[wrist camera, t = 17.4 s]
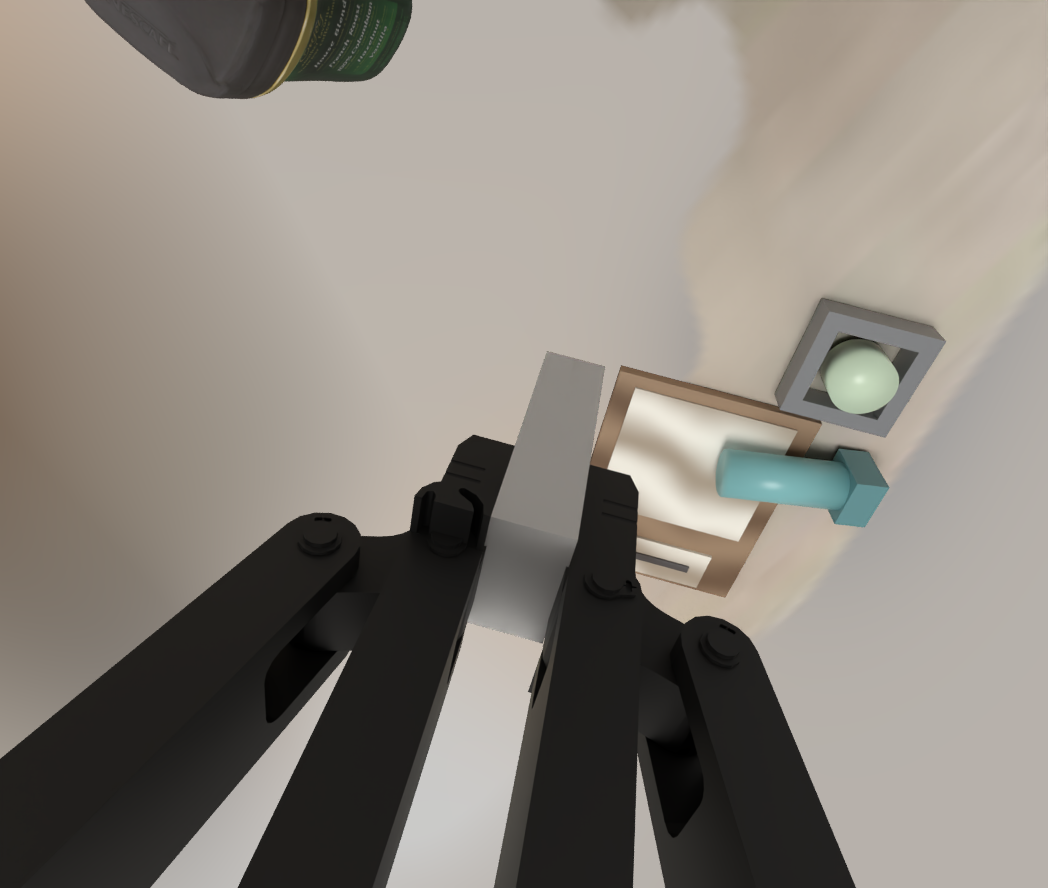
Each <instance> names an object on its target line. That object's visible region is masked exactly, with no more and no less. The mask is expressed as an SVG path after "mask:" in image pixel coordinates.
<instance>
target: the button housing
mask: <svg viewBox="0 0 1048 888" xmlns="http://www.w3.org/2000/svg"><path fill="white" fill-rule="evenodd" d="M838 332H841V333H845V334H849V335H853V336H857V337H861V338H864V339H868V340H872V341H876V342H880V343H884V344H888V345H891V346H895V347H899V348H901V350H900V351H899V353H898V355H897V356H896V358H895V360H894V361H893V363H892V364H893V366H894V367H895V369H896V371H897V373H898V376H899V386H898V389H897V392H896V393H895V395H894V396H893V398H892V399H891V400H890V401H889V402H888V403H887V404H886V405H884V406H883V407H881V408H879V409H877V410H875V411H872V412H869V413H863V414H852V413H848V412H845V411H843V410H841V409H839V408H838V407H837V406H835V405H834V403H833V402H832V400H831V398H830V396H829V394H828V393H827V392H823V391H819V390H815V389H811V388H809V387H810V385H811V383H812V381H813V379H814V378H815V376H816V374H817V372H818V370H819V368H820V366H821V364H822V362H823V360H824V358H825V357H826V355H827V353H828V351H829V349H830V347H831V345H832V343H833V341H834V339H835V338H836V336H837V334H838ZM945 343H946V341H945V339H944V338H943V337H942V336H941V335H940V334H939V333H938V332H937V331H936V329H935V328H934V327H932V326H928V325H924V324H920V323H916V322H912V321H908V320H904V319H901V318H897V317H893V316H889V315H885V314H881V313H877V312H874V311H870V310H866V309H862V308H858V307H854V306H850V305H846V304H843V303H839V302H835V301H831V300H827V299H823V298H822V299H821V301H820V303H819V305H818V307H817V309H816V311H815V313H814V315H813V317H812V319H811V321H810V323H809V325H808V327H807V329H806V331H805V333H804V335H803V337H802V339H801V341H800V343H799V346H798V348H797V350H796V352H795V354H794V356H793V358H792V360H791V362H790V364H789V366H788V368H787V370H786V372H785V374H784V376H783V378H782V380H781V382H780V384H779V386H778V388H777V390H776V392H775V396H776V400H777V403H778V406H779V409H780V410H782V411H786V412H790V413H794V414H798V415H801V416H805V417H809V418H813V419H816V420H820V421H824V422H828V423H832V424H835V425H839V426H843V427H847V428H850V429H854V430H858V431H862V432H866V433H869V434H873V435H877V436H881V437H886V436H887V434H888V433H889V431H890V429H891V428H892V426H893V425H894V423H895V422H896V420H897V418H898V417H899V415H900V414H901V412H902V411H903V409H904V407H905V406H906V404H907V403H908V401H909V399H910V398H911V396H912V395H913V393H914V392H915V390H916V388H917V387H918V385H919V384H920V382H921V381H922V379H923V377H924V376H925V374H926V373H927V371H928V370H929V368H930V366H931V365H932V363H933V362H934V360H935V359H936V357H937V355H938V354H939V352H940V351H941V349H942V347H943V346H944V344H945Z"/></svg>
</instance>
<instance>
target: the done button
mask: <svg viewBox="0 0 1048 888" xmlns="http://www.w3.org/2000/svg"><path fill="white" fill-rule="evenodd" d="M820 374H821V378H822V380H823V383H824V385H825V387H826V389H827V392H828V394H829V396H830V398H831V400H832V402H833V403H834V405H835V406H837V407H838V408H839V409H841V410H843V411H845V412H848V413H852V414H863V413H869V412H872V411H875V410H877V409H879V408H881V407H883V406H884V405H886V404H887V403H888V402H889V401H890V400H891V399H892V398H893V396H894V395H895V393H896V392H897V389H898V386H899V376H898V373H897V371H896V369H895V367H894V366H893V364H892V363H891V361H890V360H889V359H888V357H887V356H886V354H885V353H884V351H883V350H882V348H881V347H880V346H879V345H877V344H876V343H874V342H872V341H869V340H864V339H854V340H849V341H845V342H843V343H840V344H838V345H837V346H835V347H834V348H833V349H831V350H830V351H829V352H828V353H827V355H826V357H825V358H824V360H823V362H822V364H821V369H820Z"/></svg>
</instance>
